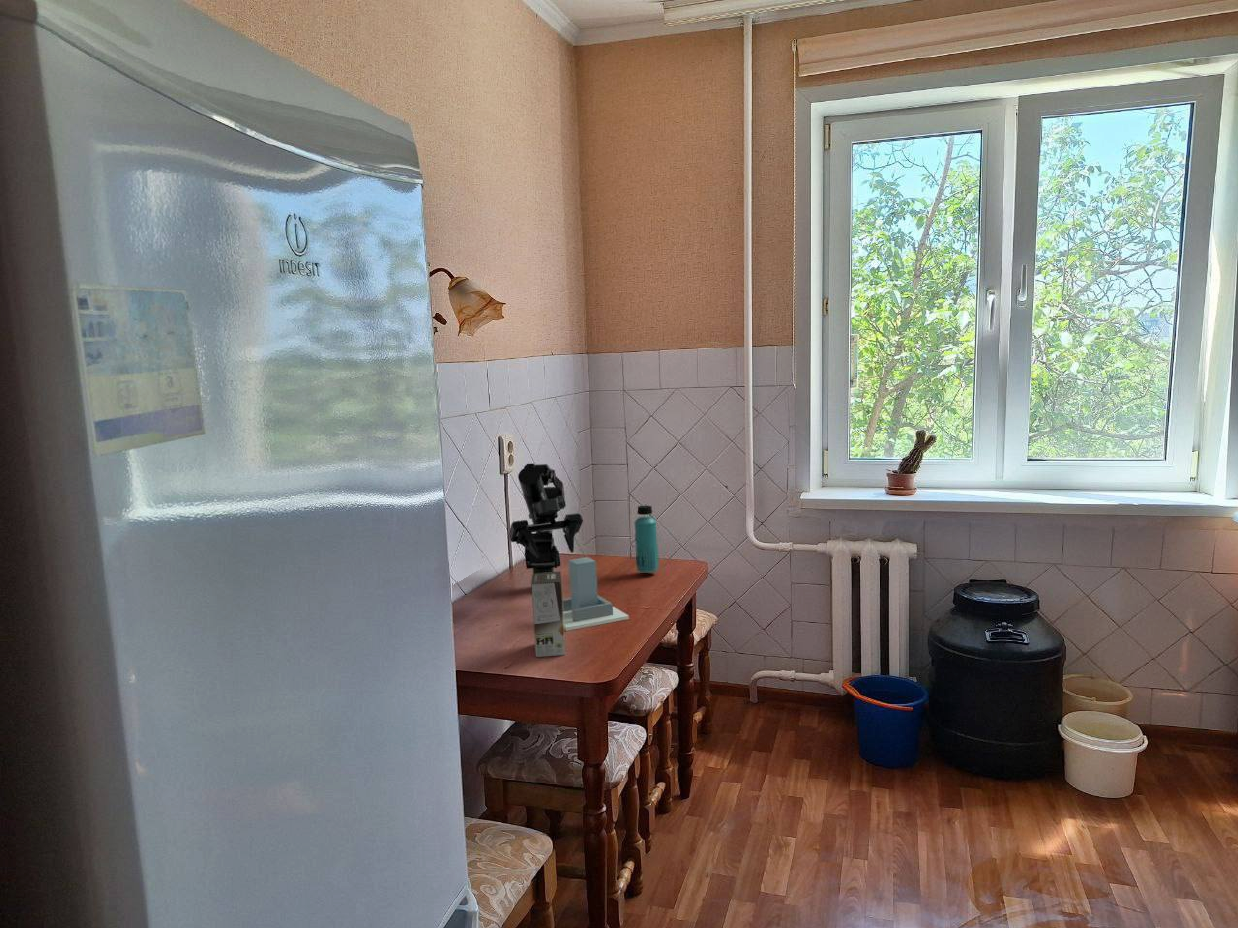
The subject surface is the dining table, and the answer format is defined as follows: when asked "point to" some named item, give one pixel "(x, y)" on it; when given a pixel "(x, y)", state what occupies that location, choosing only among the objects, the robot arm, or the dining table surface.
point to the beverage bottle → (646, 541)
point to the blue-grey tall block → (583, 583)
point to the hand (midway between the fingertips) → (555, 554)
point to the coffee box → (548, 614)
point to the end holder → (590, 614)
